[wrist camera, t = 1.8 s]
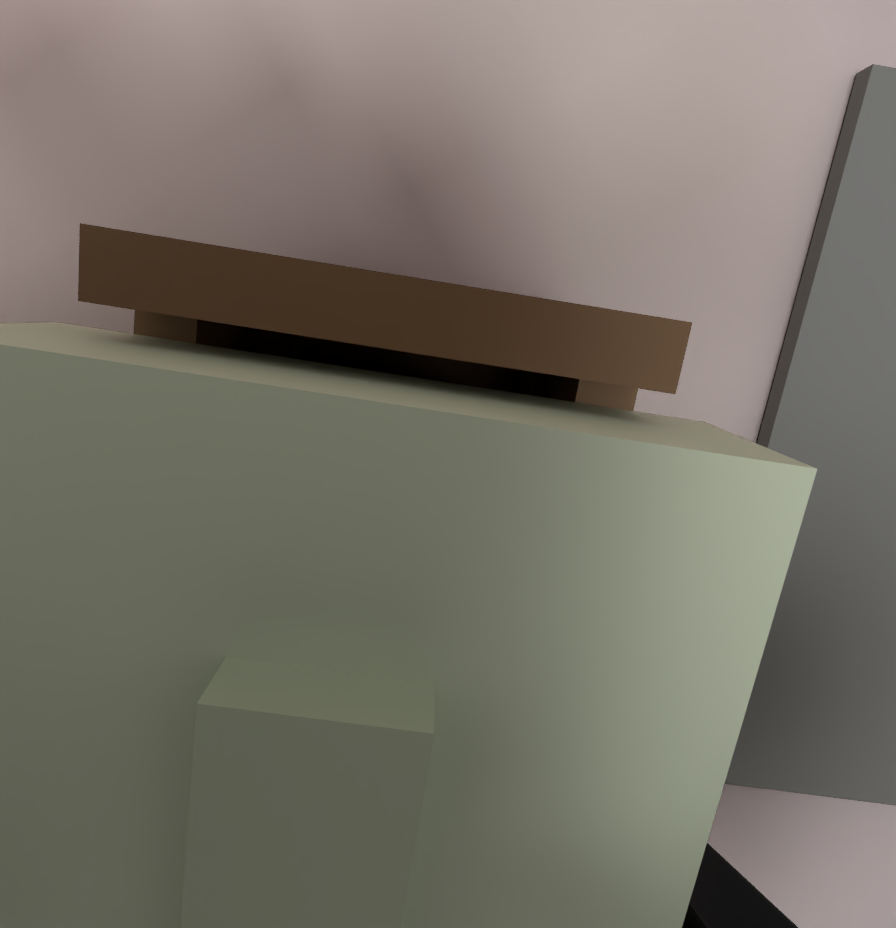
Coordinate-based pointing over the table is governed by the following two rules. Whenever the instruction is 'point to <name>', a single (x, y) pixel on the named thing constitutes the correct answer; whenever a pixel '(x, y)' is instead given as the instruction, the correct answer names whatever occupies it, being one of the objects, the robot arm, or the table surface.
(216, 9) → the table surface
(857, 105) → the slate mat
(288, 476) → the lid
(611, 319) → the walnut box
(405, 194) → the table surface
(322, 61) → the table surface
